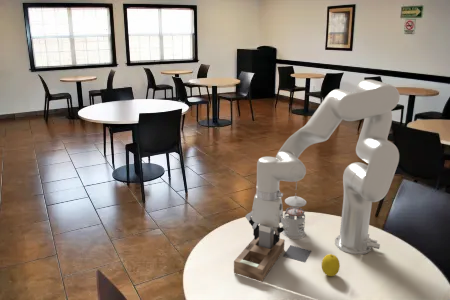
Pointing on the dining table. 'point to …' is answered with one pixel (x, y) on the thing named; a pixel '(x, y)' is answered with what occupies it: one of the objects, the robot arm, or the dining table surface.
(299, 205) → the french press
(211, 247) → the dining table surface
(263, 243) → the plug
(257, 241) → the socket block
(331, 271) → the lemon
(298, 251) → the mat
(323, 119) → the robot arm
